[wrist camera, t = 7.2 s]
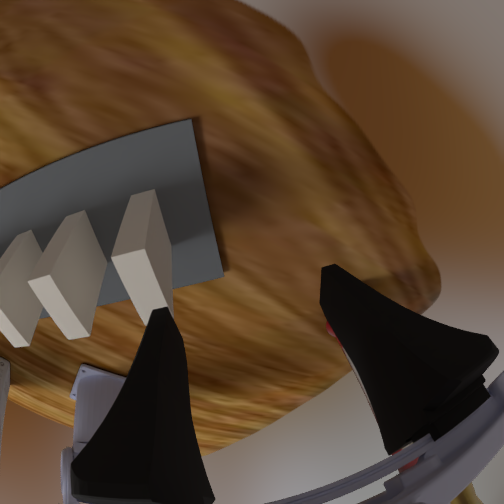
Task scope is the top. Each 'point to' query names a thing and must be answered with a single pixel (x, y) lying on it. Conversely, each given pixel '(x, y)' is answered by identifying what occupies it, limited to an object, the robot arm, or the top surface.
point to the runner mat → (121, 201)
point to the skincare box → (3, 390)
